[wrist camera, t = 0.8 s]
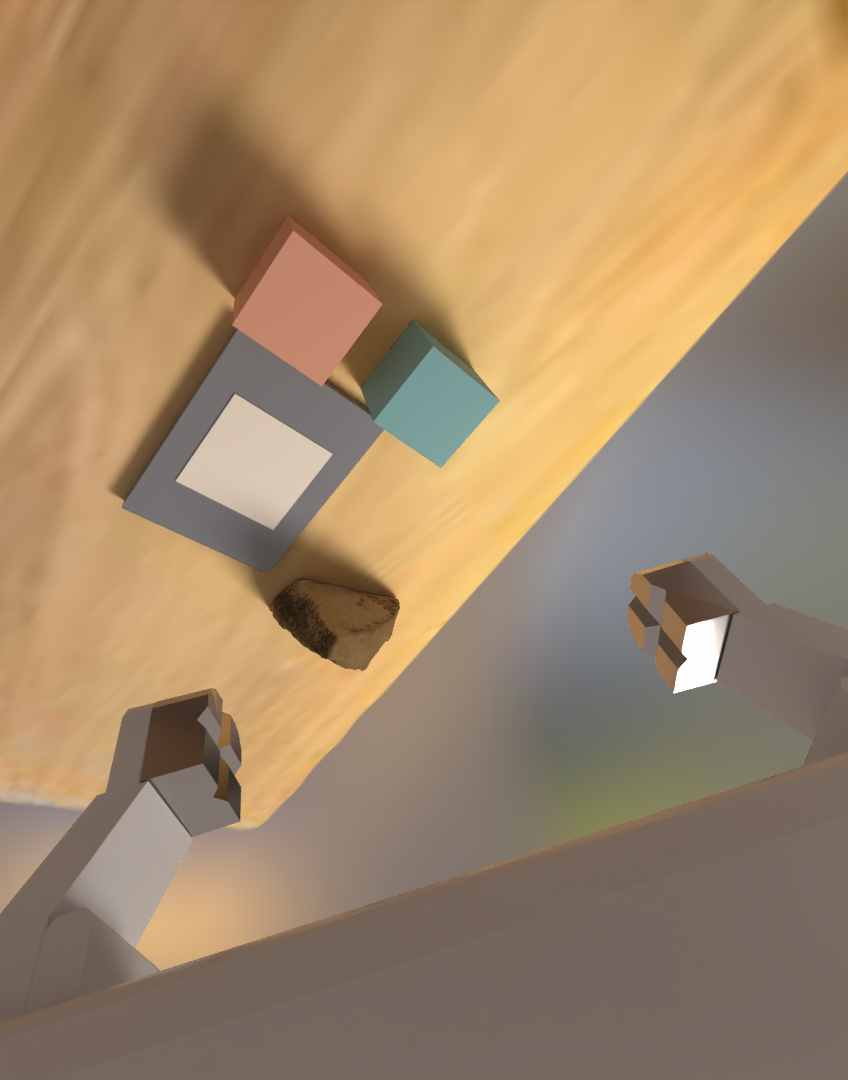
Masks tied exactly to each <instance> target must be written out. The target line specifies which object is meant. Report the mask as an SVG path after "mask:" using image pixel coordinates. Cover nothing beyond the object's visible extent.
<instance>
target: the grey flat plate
mask: <svg viewBox="0 0 848 1080" xmlns="http://www.w3.org/2000/svg"><path fill="white" fill-rule="evenodd" d="M383 431H384V429H383V428H382V427H380V426H379V425H377V424H376V423H374V422H373V420H372V417H371V414H370V412H369V410H368V409H366V408H365V407H363V406H362V405H361V404H359V403H358V402H356V401H355V400H353V399H352V398H350V397H349V396H348V395H346V394H345V393H343V392H342V391H340V390H339V389H337V388H336V387H334V386H333V385H332V384H330V383H329V382H327V381H326V382H325V383H324V384H323V386H320V385H319V384H318V383H316V382H315V381H313V380H312V379H310V378H309V377H307V376H306V375H304V374H303V373H301V372H300V371H298V370H297V369H296V368H294V367H293V366H291V365H290V364H288V363H287V362H285V361H284V360H282V359H281V358H279V357H278V356H276V355H275V354H274V353H272V352H271V351H269V350H268V349H266V348H265V347H263V346H262V345H260V344H259V343H257V342H256V341H254V340H253V339H251V338H250V337H249V336H247V335H246V334H244V333H243V332H241V331H240V330H238V329H237V328H236V329H235V331H234V332H233V334H232V336H231V337H230V339H229V340H228V342H227V343H226V345H225V346H224V348H223V349H222V351H221V352H220V354H219V355H218V357H217V359H216V360H215V362H214V363H213V365H212V366H211V368H210V369H209V371H208V372H207V374H206V375H205V377H204V379H203V380H202V382H201V383H200V385H199V386H198V388H197V389H196V391H195V392H194V394H193V395H192V397H191V398H190V400H189V402H188V403H187V405H186V406H185V408H184V409H183V411H182V412H181V414H180V415H179V417H178V418H177V420H176V421H175V423H174V425H173V426H172V428H171V429H170V431H169V432H168V434H167V435H166V437H165V438H164V440H163V441H162V443H161V444H160V446H159V448H158V449H157V451H156V452H155V454H154V455H153V457H152V458H151V460H150V461H149V463H148V464H147V466H146V468H145V469H144V471H143V472H142V474H141V475H140V477H139V478H138V480H137V481H136V483H135V484H134V486H133V487H132V489H131V491H130V492H129V494H128V495H127V497H126V498H125V500H124V502H123V505H122V508H123V509H126V510H128V511H130V512H132V513H134V514H137V515H139V516H141V517H143V518H145V519H148V520H150V521H152V522H154V523H156V524H159V525H161V526H163V527H165V528H167V529H170V530H172V531H174V532H176V533H178V534H181V535H183V536H185V537H187V538H189V539H192V540H194V541H196V542H198V543H200V544H203V545H205V546H207V547H209V548H211V549H214V550H216V551H218V552H220V553H222V554H225V555H227V556H229V557H231V558H233V559H236V560H238V561H240V562H242V563H244V564H247V565H249V566H251V567H253V568H255V569H258V570H260V571H262V572H264V573H266V574H268V573H269V572H270V570H271V569H272V568H273V567H274V565H275V564H276V563H277V562H278V561H279V559H280V558H281V557H282V556H283V554H284V553H285V552H286V551H287V549H288V548H289V547H290V546H291V544H292V543H293V542H294V541H295V539H296V538H297V537H298V536H299V535H300V533H301V532H302V531H303V530H304V528H305V527H306V526H307V525H308V523H309V522H310V521H311V520H312V518H313V517H314V516H315V515H316V513H317V512H318V511H319V510H320V509H321V507H322V506H323V505H324V504H325V502H326V501H327V500H328V499H329V497H330V496H331V495H332V494H333V492H334V491H335V490H336V489H337V487H338V486H339V485H340V484H341V483H342V481H343V480H344V479H345V478H346V476H347V475H348V474H349V473H350V471H351V470H352V469H353V468H354V466H355V465H356V464H357V463H358V461H359V460H360V459H361V458H362V457H363V455H364V454H365V453H366V452H367V450H368V449H369V448H370V447H371V445H372V444H373V443H374V442H375V440H376V439H377V438H378V437H379V435H380V434H381V433H382V432H383Z"/></svg>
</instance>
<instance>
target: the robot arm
mask: <svg viewBox="0 0 848 1080" xmlns="http://www.w3.org/2000/svg"><path fill="white" fill-rule="evenodd" d="M630 589H631V590H632V591H633V593H634V594H635V595H636V596H635V597H634V599H633V600H632V601H631V603H630V604H629V606H628V621H629V625H630V629H631V632H632V634H633V636H634V638H635V640H636V642H637V643H638V644H639V646H640V647H641V649H642V650H644V651H646V652H648V653H650V654H652V655H654V656H656V661H655V668H656V669H657V670H658V672H659V673H660V674H661V676H662V677H663V678H664V680H665V681H666V682H667V684H668V685H669V686H670V688H671V689H672V690H673V692H678V691H682V690H686V689H690V688H694V687H697V686H701V685H705V684H709V683H712V682H716V684H717V685H718V686H720V687H722V688H723V689H725V690H727V691H729V692H730V693H732V694H734V695H736V696H737V697H739V698H741V699H743V700H744V701H746V702H748V703H749V704H751V705H753V706H755V707H756V708H758V709H760V710H761V711H763V712H765V713H767V714H768V715H770V716H772V717H774V718H775V719H777V720H779V721H781V722H782V723H784V724H786V725H787V726H789V727H791V728H793V729H795V730H796V731H798V732H800V733H801V734H804V735H805V736H806V737H808V738H810V739H812V740H813V741H812V744H811V746H810V748H809V750H808V752H807V755H806V757H805V759H804V763H803V766H801V767H798V768H795V769H792V770H789V771H786V772H782V773H779V774H776V775H773V776H770V777H767V778H764V779H761V780H757V781H754V782H752V783H748V784H745V785H742V786H739V787H735V788H733V789H729V790H726V791H723V792H720V793H717V794H714V795H710V796H707V797H704V798H701V799H698V800H695V801H692V802H688V803H686V804H682V805H679V806H676V807H673V808H670V809H666V810H663V811H660V812H657V813H654V814H651V815H648V816H645V817H641V818H638V819H635V820H632V821H629V822H626V823H622V824H619V825H616V826H613V827H610V828H607V829H604V830H600V831H597V832H594V833H591V834H588V835H585V836H582V837H579V838H575V839H572V840H569V841H566V842H563V843H560V844H557V845H553V846H550V847H547V848H544V849H541V850H538V851H535V852H532V853H528V854H525V855H523V856H519V857H516V858H513V859H510V860H507V861H503V862H500V863H497V864H494V865H491V866H488V867H485V868H481V869H478V870H475V871H472V872H469V873H466V874H463V875H460V876H456V877H453V878H450V879H447V880H444V881H441V882H438V883H435V884H432V885H428V886H425V887H422V888H419V889H416V890H413V891H410V892H407V893H403V894H400V895H398V896H394V897H391V898H388V899H385V900H381V901H378V902H376V903H372V904H369V905H366V906H363V907H359V908H356V909H353V910H350V911H347V912H344V913H341V914H338V915H334V916H331V917H328V918H325V919H322V920H319V921H316V922H313V923H309V924H306V925H303V926H300V927H297V928H294V929H291V930H287V931H284V932H281V933H278V934H275V935H272V936H269V937H266V938H262V939H260V940H256V941H253V942H250V943H247V944H244V945H241V946H237V947H234V948H231V949H228V950H225V951H222V952H219V953H216V954H213V955H209V956H206V957H203V958H200V959H197V960H194V961H190V962H187V963H184V964H181V965H178V966H175V967H172V968H169V969H165V970H162V971H160V970H159V969H158V968H157V967H156V966H155V965H154V964H152V963H151V962H150V961H149V960H148V959H147V958H145V957H144V956H143V955H142V954H141V953H140V952H138V951H137V950H136V949H135V947H136V945H137V944H138V942H139V940H140V938H141V936H142V934H143V932H144V930H145V928H146V927H147V925H148V923H149V921H150V919H151V917H152V916H153V914H154V912H155V910H156V908H157V906H158V904H159V902H160V901H161V899H162V897H163V895H164V893H165V891H166V889H167V887H168V886H169V884H170V882H171V880H172V878H173V876H174V874H175V872H176V871H177V869H178V867H179V865H180V863H181V861H182V859H183V858H184V856H185V854H186V852H187V850H188V848H189V846H190V844H191V843H192V841H193V839H192V837H194V836H197V835H200V834H203V833H206V832H209V831H212V830H215V829H218V828H221V827H224V826H227V825H231V824H234V823H237V822H240V813H241V786H240V784H239V782H238V781H237V779H236V777H235V776H234V775H235V774H236V772H237V771H238V769H239V768H240V766H241V744H240V738H239V733H238V730H237V727H236V724H235V722H234V720H233V718H232V716H231V715H229V714H227V713H224V712H222V702H223V700H222V698H221V697H220V695H219V693H218V692H217V690H216V689H213V688H211V689H207V690H202V691H198V692H194V693H190V694H186V695H182V696H178V697H174V698H170V699H166V700H162V701H158V702H156V703H152V704H148V705H144V706H140V707H135V708H131V709H128V710H127V712H126V713H125V715H124V716H123V718H122V722H121V726H120V731H119V735H118V740H117V744H116V749H115V753H114V758H113V762H112V767H111V771H110V776H109V780H108V785H107V789H106V793H103V794H100V795H97V796H96V797H95V798H94V800H93V801H92V802H91V803H90V805H89V806H88V807H87V808H86V810H85V811H84V812H83V813H82V815H81V816H80V817H79V818H78V819H77V821H76V822H75V823H74V824H73V826H72V827H71V828H70V829H69V830H68V832H67V833H66V834H65V835H64V836H63V838H62V839H61V840H60V841H59V843H58V844H57V845H56V846H55V847H54V849H53V850H52V851H51V852H50V854H49V855H48V856H47V857H46V859H45V860H44V861H43V862H42V863H41V865H40V866H39V867H38V868H37V870H36V871H35V872H34V873H33V874H32V876H31V877H30V878H29V879H28V881H27V882H26V883H25V884H24V885H23V887H22V888H21V889H20V890H19V892H18V893H17V894H16V895H15V897H14V898H13V899H12V900H11V901H10V903H9V904H8V905H7V906H6V907H5V909H4V910H3V911H2V912H1V914H0V1080H848V629H845V628H842V627H839V626H837V625H834V624H831V623H828V622H825V621H823V620H820V619H817V618H814V617H811V616H809V615H806V614H803V613H800V612H797V611H794V610H792V609H789V608H786V607H783V606H780V605H777V604H775V603H772V604H768V605H766V604H765V603H764V602H763V601H762V600H761V599H759V598H758V597H757V596H756V595H755V594H754V593H753V592H752V591H751V590H750V589H749V588H748V587H747V586H746V585H744V584H743V583H742V582H741V581H740V580H739V579H738V578H737V577H736V576H735V575H734V574H733V573H732V572H730V571H729V570H728V569H727V568H726V567H725V566H724V565H723V564H722V563H721V562H720V561H719V560H718V559H717V558H715V557H714V556H713V555H710V554H708V553H705V554H701V555H698V556H694V557H690V558H687V559H684V560H682V561H676V562H672V563H669V564H666V565H662V566H658V567H655V568H651V569H648V570H644V571H640V572H637V573H635V574H634V575H633V577H632V579H631V586H630Z"/></svg>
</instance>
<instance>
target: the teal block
mask: <svg viewBox="0 0 848 1080" xmlns="http://www.w3.org/2000/svg"><path fill="white" fill-rule="evenodd" d="M361 390H362V393H363V396H364V398H365V401H366V404H367V406H368V409H369V412H370V414H371V417H372V420H373V422H374V423H376V424H377V425H379V426H380V427H382V428H383V429H385V430H386V431H387V432H389V433H390V434H392V435H393V436H395V437H396V438H398V439H399V440H401V441H402V442H404V443H405V444H407V445H408V446H410V447H411V448H412V449H414V450H415V451H417V452H418V453H420V454H421V455H423V456H424V457H426V458H427V459H429V460H430V461H432V462H433V463H434V464H436V465H437V466H439V467H440V468H441V467H442V466H443V465H444V464H445V463H446V462H447V461H448V459H449V458H450V457H451V456H452V455H453V454H454V453H455V451H456V450H457V449H458V448H459V447H460V446H461V445H462V443H463V442H464V441H465V440H466V439H467V438H468V437H469V435H470V434H471V433H472V432H473V431H474V430H475V429H476V427H477V426H478V425H479V424H480V423H481V422H482V421H483V419H484V418H485V417H486V416H487V415H488V414H489V413H490V411H491V410H492V409H493V408H494V407H495V406H496V405H497V403H498V402H499V399H498V398H497V397H496V396H495V395H494V393H493V392H492V391H491V390H490V389H489V388H488V386H487V385H486V384H485V383H484V382H483V380H482V379H481V378H480V377H479V376H478V374H477V373H476V372H475V371H474V370H473V369H472V368H471V367H470V366H468V365H467V364H466V363H465V362H464V361H462V360H461V359H460V358H459V357H458V356H456V355H455V354H454V353H453V352H452V351H450V350H449V349H448V348H447V347H446V346H444V345H443V344H442V343H441V342H440V341H438V340H437V339H436V338H435V337H434V336H432V335H431V334H430V333H429V332H428V331H426V330H425V329H424V328H423V327H422V326H420V325H419V324H418V323H417V322H416V321H414V320H412V321H411V323H410V324H409V325H408V327H407V328H406V329H405V331H404V332H403V333H402V334H401V336H400V337H399V338H398V340H397V341H396V342H395V344H394V345H393V346H392V347H391V349H390V350H389V351H388V353H387V354H386V355H385V357H384V358H383V359H382V361H381V362H380V363H379V364H378V366H377V367H376V368H375V370H374V371H373V372H372V374H371V375H370V376H369V377H368V379H367V380H366V381H365V383H364V384H363V385H362V387H361Z"/></svg>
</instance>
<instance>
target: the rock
mask: <svg viewBox="0 0 848 1080" xmlns="http://www.w3.org/2000/svg"><path fill="white" fill-rule="evenodd" d="M269 609H270V611H272V612H273V617H274V618H275V619H276V620H277V622H278V623H279V625H280V626H281V627H282V628H283V629H287V630H288V631H289V632H291V634H292V636H293V637H294V638H296V639H297V640H298V641H299V642H300V643H301V644H302V645H303V646H304V647H306V648H308V649H309V650H310V651H312V652H315V653H317V654H319V655H320V656H321V657H322V658H324V659H329V660H331V661H332V662H334V663H335V664H336V665H339V666H341V667H343V668H345V669H353V670H357V669H360V670H361V671H363V670H365V669H366V668H367V667H368V665H369V663H370V661H371V660H372V658H373V657H374V656H375V654H376V653H377V652H378V651H379V649H380V648H381V647H382V645H383V644H384V643H385V642H386V641H388V640H389V639H390V637H391V635H392V631H393V627H394V623H395V620H396V617H397V614H398V611H399V609H400V606H399V600H398V599H395V598H392V597H388V596H381V595H374V594H370V593H365V592H358V591H354V590H349V589H346V588H345V587H340V586H334V585H331V584H323V583H316V582H314V581H312V580H298V581H297V582H295V583H293V584H292V585H291V586H289V587H288V588H287V589H285V590H284V591H282V592H281V593H280V594H279V595H278V596H277V597H276V599H275V600H274V602H273V604H272V605H271V606H270V607H269Z"/></svg>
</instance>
